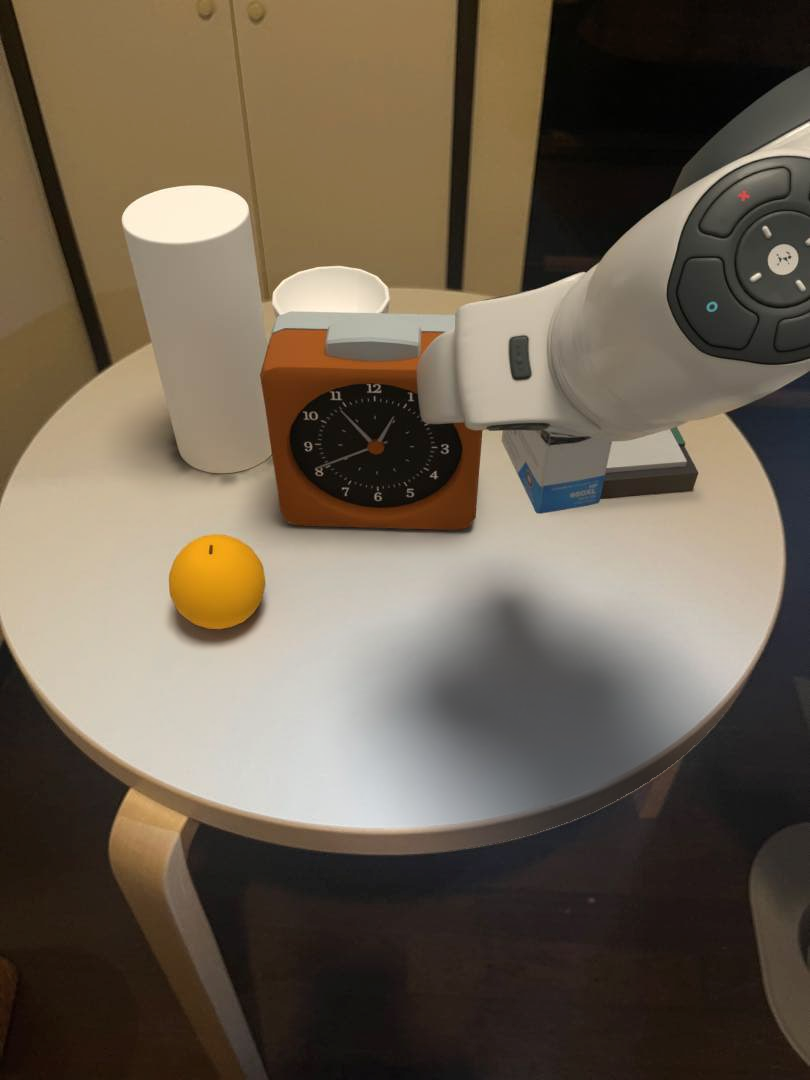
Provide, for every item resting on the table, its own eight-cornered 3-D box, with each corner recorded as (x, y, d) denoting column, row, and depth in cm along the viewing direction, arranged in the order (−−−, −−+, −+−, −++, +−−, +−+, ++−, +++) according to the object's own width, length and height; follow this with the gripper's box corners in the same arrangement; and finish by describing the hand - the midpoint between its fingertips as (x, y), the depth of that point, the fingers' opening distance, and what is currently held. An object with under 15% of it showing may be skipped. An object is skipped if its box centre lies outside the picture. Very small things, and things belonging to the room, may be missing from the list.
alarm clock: (280, 528, 82) (252, 343, 67) (293, 467, 88) (269, 285, 73) (474, 533, 82) (489, 348, 67) (473, 472, 88) (487, 289, 73)
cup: (260, 394, 97) (247, 307, 89) (320, 340, 104) (313, 255, 96) (355, 428, 92) (350, 339, 84) (410, 369, 100) (411, 282, 92)
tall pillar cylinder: (300, 435, 92) (274, 208, 74) (225, 488, 86) (177, 255, 68) (232, 396, 96) (192, 173, 78) (156, 444, 91) (94, 215, 73)
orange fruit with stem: (162, 634, 73) (142, 575, 68) (198, 567, 79) (182, 508, 73) (251, 651, 72) (238, 593, 67) (281, 581, 77) (272, 522, 72)
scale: (651, 410, 95) (657, 387, 92) (693, 490, 86) (700, 467, 83) (526, 420, 93) (529, 397, 91) (555, 502, 85) (559, 478, 82)
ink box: (602, 505, 60) (634, 363, 52) (534, 516, 59) (555, 374, 51) (561, 430, 66) (583, 291, 57) (498, 439, 65) (511, 300, 57)
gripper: (811, 279, 45) (700, 336, 59) (427, 306, 44) (405, 359, 58) (821, 398, 46) (708, 428, 59) (439, 430, 44) (414, 453, 58)
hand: (556, 394), depth 58 cm, fingers closed on ink box, 5 cm apart
